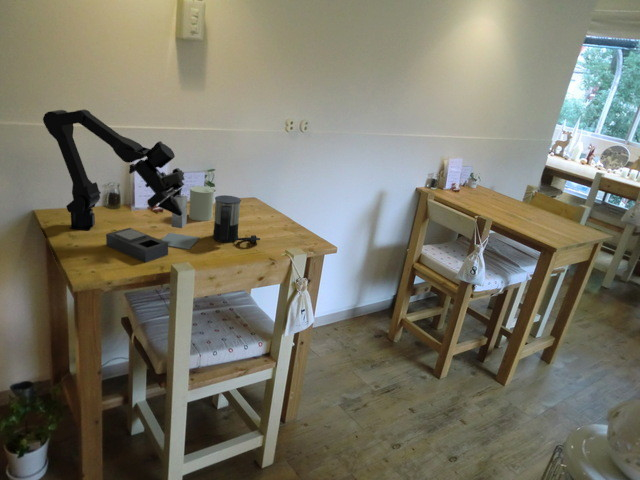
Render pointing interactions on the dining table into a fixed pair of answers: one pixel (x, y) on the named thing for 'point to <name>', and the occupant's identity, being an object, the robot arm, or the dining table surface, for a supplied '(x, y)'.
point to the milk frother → (228, 219)
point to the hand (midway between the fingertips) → (183, 213)
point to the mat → (180, 240)
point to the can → (201, 203)
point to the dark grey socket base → (137, 244)
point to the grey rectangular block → (182, 205)
